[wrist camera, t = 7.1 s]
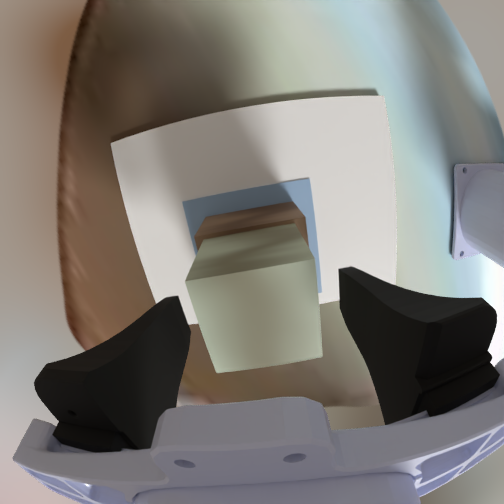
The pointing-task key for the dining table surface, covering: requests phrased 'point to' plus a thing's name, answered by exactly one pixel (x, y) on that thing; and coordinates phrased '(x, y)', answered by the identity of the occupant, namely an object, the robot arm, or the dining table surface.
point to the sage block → (256, 298)
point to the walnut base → (252, 221)
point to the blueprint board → (265, 185)
